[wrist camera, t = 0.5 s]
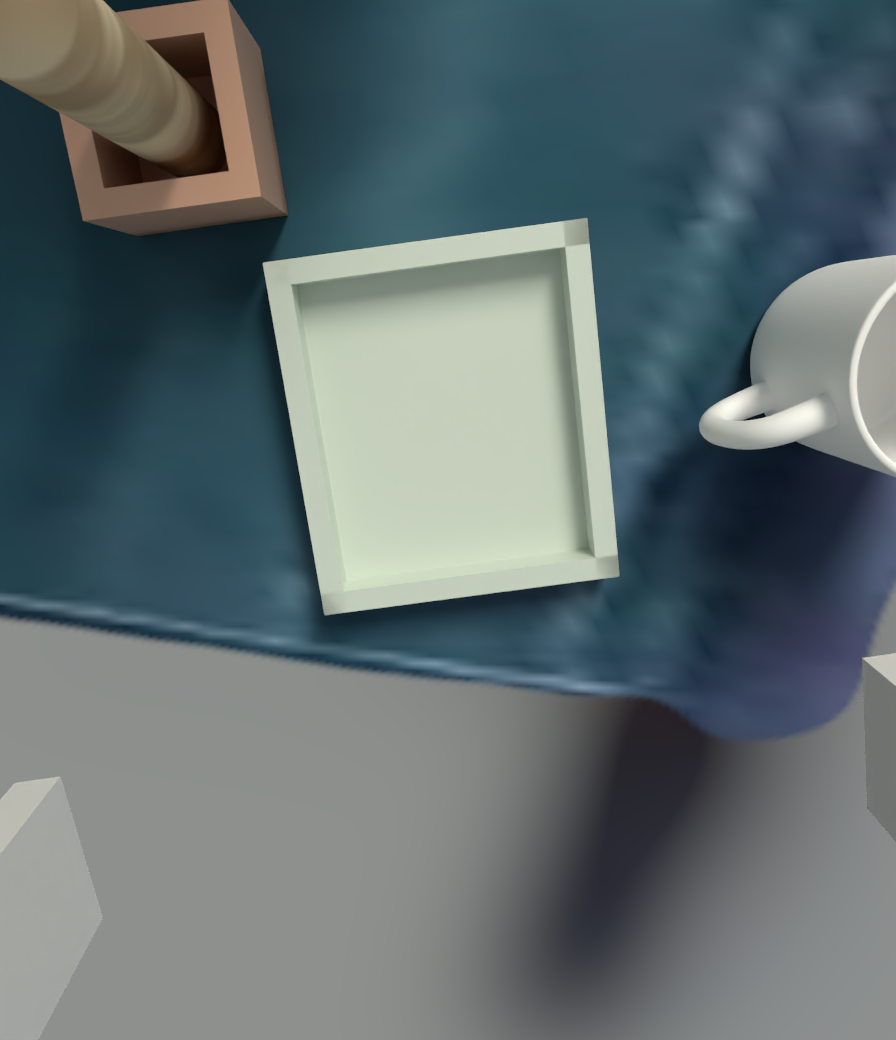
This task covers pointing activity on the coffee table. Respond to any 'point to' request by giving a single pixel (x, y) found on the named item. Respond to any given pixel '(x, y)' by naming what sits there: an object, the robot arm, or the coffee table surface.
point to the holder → (244, 122)
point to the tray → (448, 415)
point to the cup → (822, 369)
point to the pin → (109, 82)
